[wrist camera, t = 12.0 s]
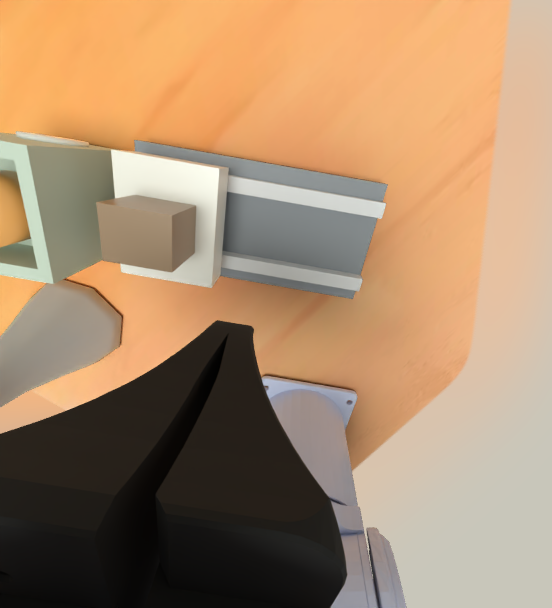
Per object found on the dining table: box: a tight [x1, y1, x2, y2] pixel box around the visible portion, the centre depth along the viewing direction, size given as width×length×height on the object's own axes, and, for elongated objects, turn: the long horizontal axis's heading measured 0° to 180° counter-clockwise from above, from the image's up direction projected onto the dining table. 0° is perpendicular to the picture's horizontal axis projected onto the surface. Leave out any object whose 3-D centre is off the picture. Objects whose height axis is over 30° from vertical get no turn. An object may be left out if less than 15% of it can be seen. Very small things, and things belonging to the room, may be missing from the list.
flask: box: [0, 280, 122, 407], centre depth 19 cm, size 7×7×10 cm
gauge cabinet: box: [0, 131, 117, 284], centre depth 15 cm, size 6×5×8 cm
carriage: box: [96, 149, 229, 288], centre depth 14 cm, size 6×5×5 cm
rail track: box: [134, 140, 388, 299], centre depth 18 cm, size 7×14×2 cm, turn 81°
